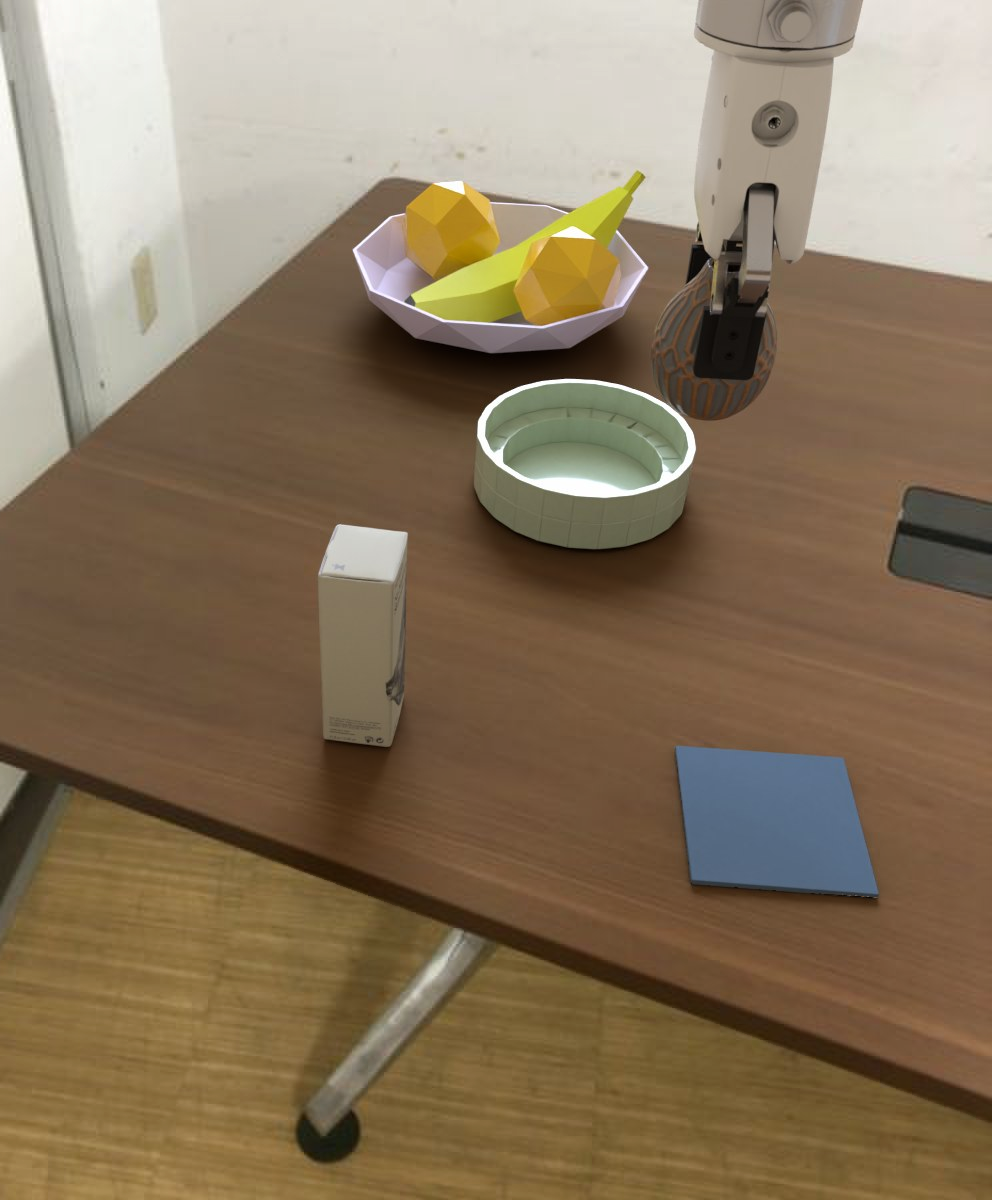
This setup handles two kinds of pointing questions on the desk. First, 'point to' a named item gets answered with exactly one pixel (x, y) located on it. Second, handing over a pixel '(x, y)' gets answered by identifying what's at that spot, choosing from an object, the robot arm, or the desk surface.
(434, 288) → the fruit bowl
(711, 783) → the mat
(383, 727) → the box
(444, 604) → the desk surface
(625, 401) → the bowl
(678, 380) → the vase
